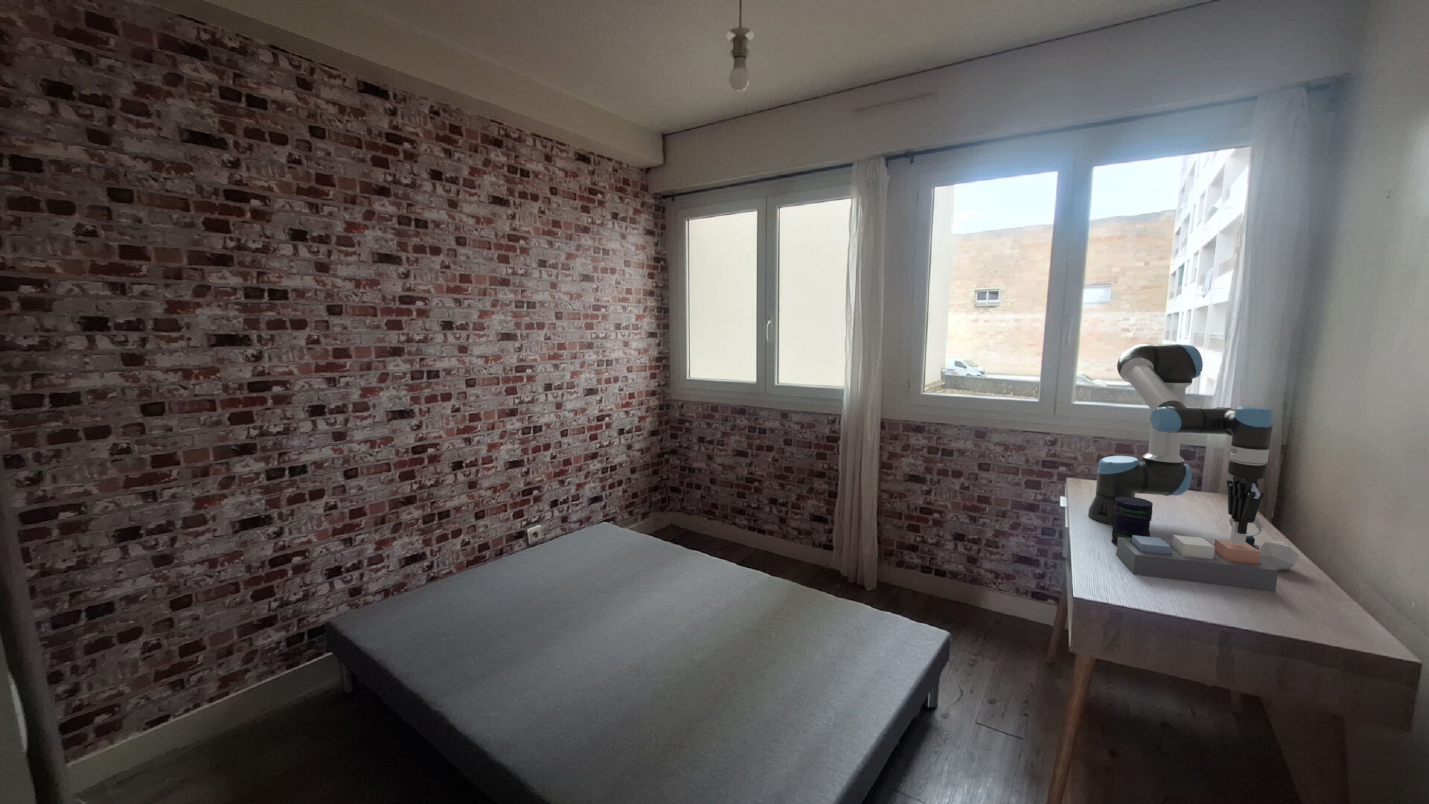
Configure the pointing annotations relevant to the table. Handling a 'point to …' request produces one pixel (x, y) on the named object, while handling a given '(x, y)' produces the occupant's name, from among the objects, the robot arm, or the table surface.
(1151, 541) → the slate blue key
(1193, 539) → the white key
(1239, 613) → the table surface
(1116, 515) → the storage jar
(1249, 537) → the watch
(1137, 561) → the keypad housing
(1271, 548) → the die
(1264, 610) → the table surface
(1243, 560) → the terracotta key
